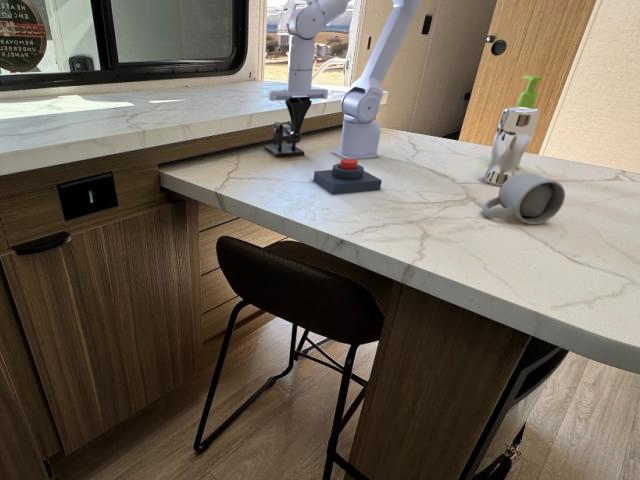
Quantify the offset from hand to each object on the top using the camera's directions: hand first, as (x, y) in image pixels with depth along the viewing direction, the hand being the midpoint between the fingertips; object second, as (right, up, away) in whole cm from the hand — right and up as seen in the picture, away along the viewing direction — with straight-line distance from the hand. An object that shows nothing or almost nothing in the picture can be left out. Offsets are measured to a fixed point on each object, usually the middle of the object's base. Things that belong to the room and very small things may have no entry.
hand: (296, 130), depth 105 cm
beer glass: (+44, -17, -12) cm, 48 cm away
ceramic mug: (+36, -28, -29) cm, 54 cm away
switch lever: (-1, 0, +5) cm, 5 cm away
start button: (+9, -15, -16) cm, 24 cm away
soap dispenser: (+52, -10, -2) cm, 53 cm away
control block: (+9, -18, -14) cm, 24 cm away
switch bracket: (-2, -2, +10) cm, 11 cm away
